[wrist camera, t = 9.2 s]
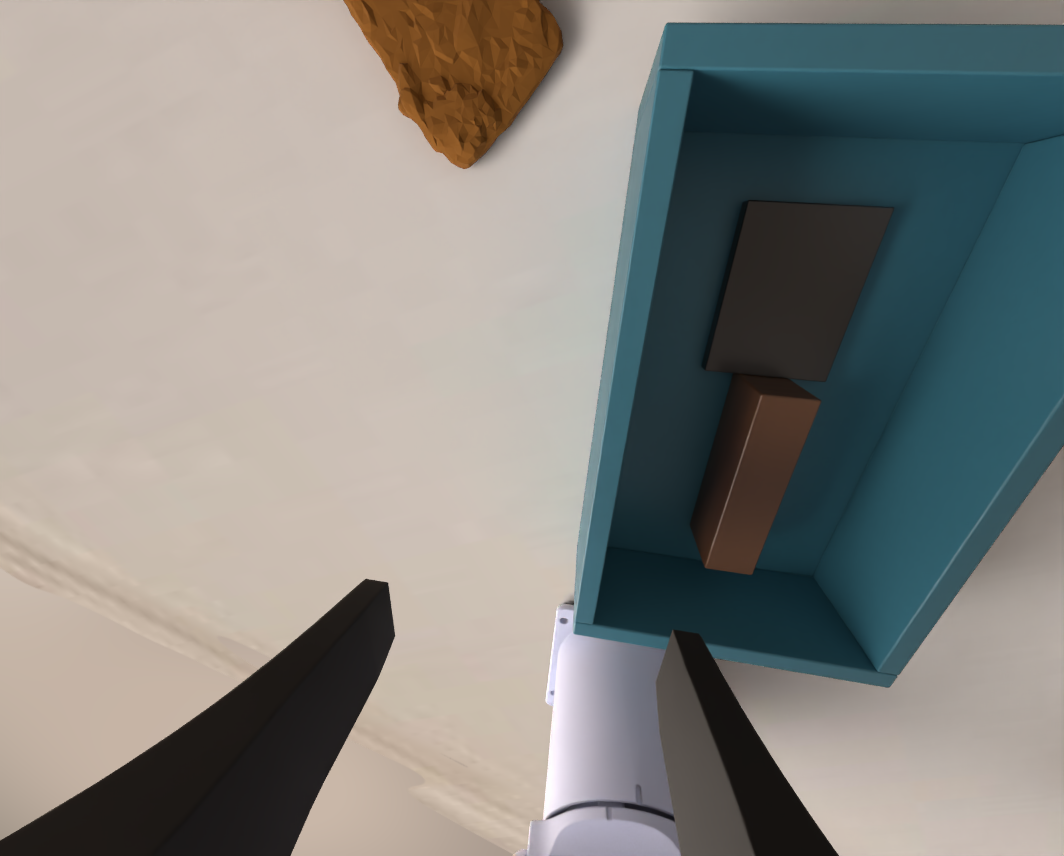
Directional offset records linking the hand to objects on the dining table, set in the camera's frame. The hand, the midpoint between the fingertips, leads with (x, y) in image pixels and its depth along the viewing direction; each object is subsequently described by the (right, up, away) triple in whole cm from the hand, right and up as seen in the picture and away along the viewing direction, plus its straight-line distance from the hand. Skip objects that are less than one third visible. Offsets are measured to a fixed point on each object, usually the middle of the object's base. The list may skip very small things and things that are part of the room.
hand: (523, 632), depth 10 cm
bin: (+10, +7, +7) cm, 14 cm away
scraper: (+9, +7, +6) cm, 13 cm away
